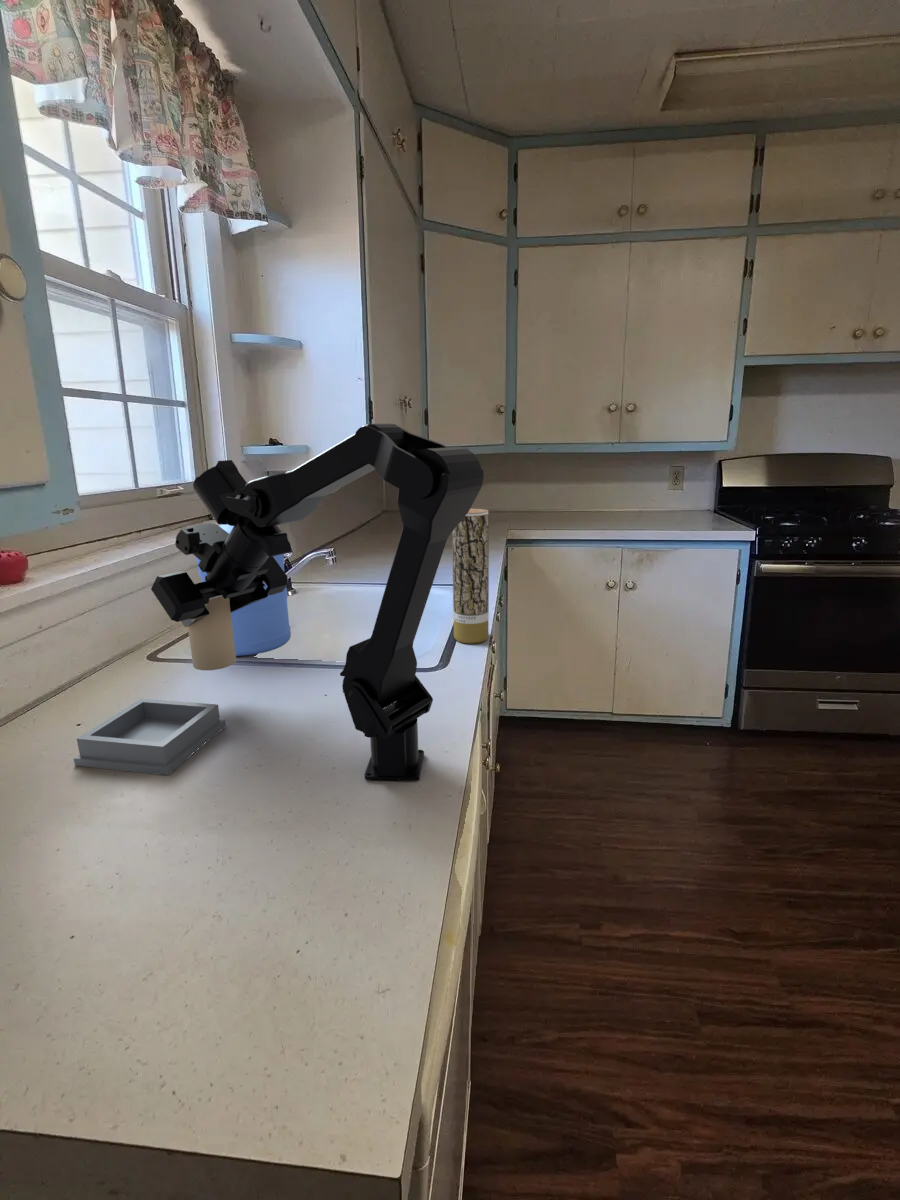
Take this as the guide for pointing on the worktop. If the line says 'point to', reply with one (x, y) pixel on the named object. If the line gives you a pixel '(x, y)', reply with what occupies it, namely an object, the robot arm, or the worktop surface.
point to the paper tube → (471, 577)
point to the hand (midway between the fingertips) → (203, 618)
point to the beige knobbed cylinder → (213, 637)
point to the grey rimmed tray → (149, 736)
